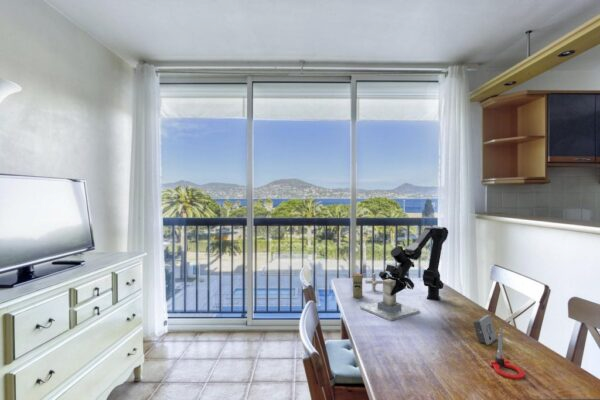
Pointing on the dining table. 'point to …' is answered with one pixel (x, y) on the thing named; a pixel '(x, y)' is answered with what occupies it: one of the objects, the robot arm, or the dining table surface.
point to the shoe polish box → (357, 285)
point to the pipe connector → (373, 282)
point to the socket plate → (390, 310)
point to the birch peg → (389, 292)
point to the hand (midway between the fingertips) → (387, 294)
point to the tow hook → (505, 362)
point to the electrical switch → (485, 329)
